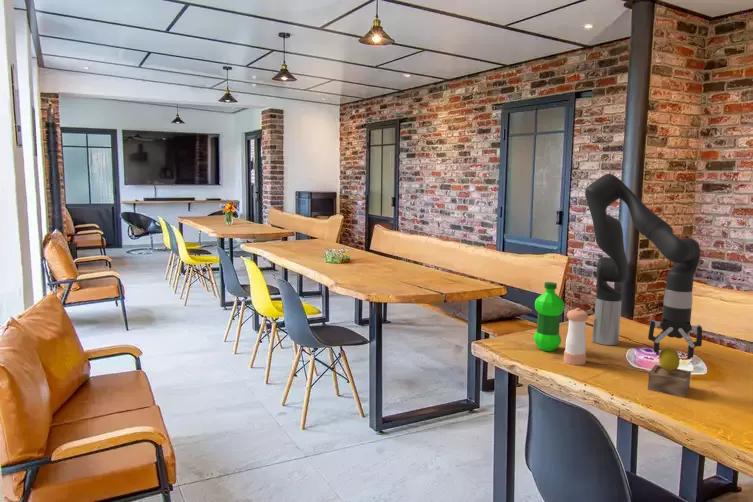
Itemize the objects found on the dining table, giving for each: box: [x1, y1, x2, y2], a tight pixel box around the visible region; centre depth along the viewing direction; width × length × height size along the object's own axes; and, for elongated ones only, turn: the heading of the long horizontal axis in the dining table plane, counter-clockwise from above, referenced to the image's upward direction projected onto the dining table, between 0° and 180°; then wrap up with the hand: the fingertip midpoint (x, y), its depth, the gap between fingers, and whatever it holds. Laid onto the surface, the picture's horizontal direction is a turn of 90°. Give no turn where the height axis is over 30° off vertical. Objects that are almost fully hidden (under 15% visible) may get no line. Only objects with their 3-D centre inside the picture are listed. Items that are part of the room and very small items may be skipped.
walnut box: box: [647, 363, 692, 398], centre depth 171 cm, size 10×10×6 cm
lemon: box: [658, 346, 680, 373], centre depth 171 cm, size 6×6×8 cm
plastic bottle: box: [533, 281, 565, 352], centre depth 206 cm, size 10×10×25 cm
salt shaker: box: [563, 307, 589, 366], centre depth 193 cm, size 7×7×19 cm
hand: (672, 356), depth 170 cm, fingers open, 8 cm apart
